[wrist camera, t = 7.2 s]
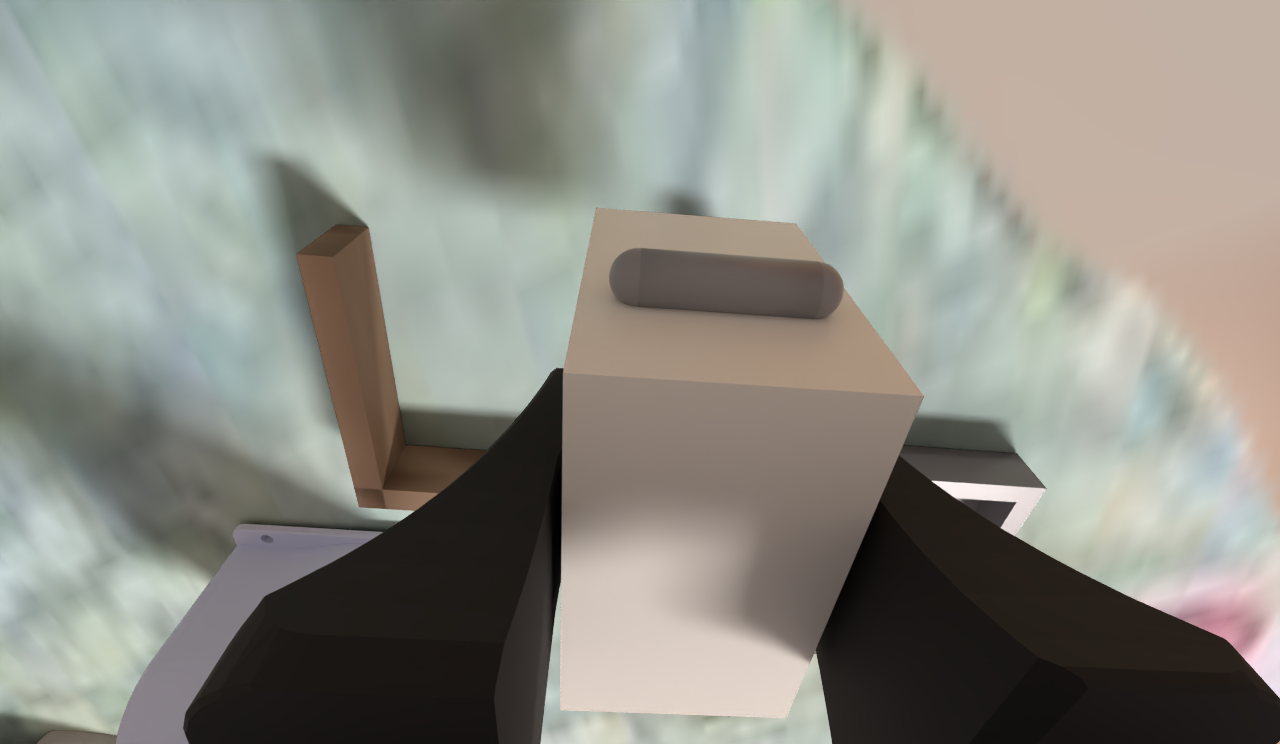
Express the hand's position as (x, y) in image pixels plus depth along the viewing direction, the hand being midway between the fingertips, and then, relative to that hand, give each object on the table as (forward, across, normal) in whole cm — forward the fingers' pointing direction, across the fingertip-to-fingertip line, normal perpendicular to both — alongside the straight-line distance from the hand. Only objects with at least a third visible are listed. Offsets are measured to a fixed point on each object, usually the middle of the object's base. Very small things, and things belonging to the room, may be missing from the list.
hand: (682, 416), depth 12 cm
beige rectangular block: (+2, 0, 0) cm, 2 cm away
